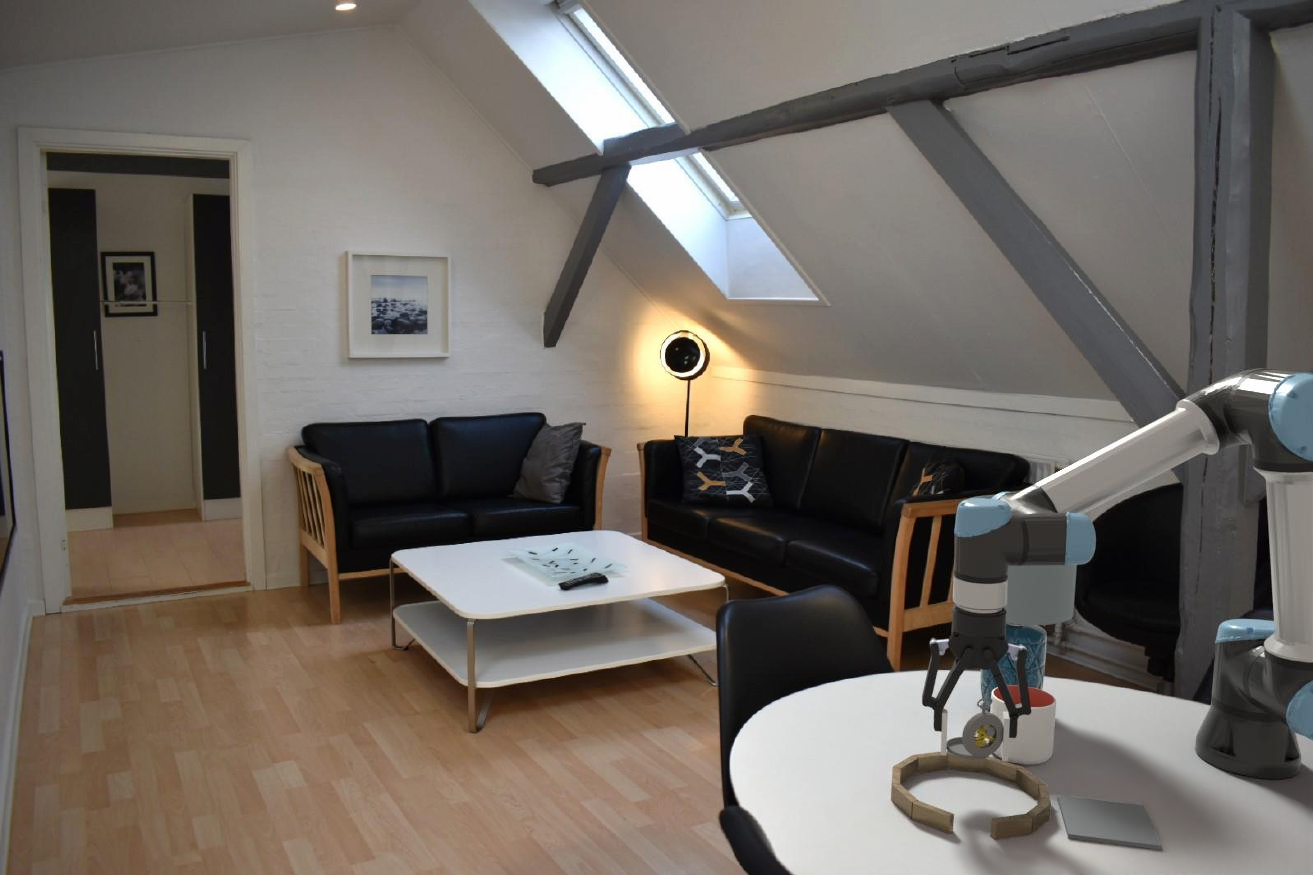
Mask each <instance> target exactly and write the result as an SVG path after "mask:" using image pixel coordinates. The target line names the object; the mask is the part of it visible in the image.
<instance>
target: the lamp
mask: <svg viewBox="0 0 1313 875" xmlns="http://www.w3.org/2000/svg"><path fill="white" fill-rule="evenodd" d="M995 495H996V494H991V495H990V494H988V495H980V496H978V495H977V496H973V497H970V498H969V499H973V498H985V499H991V498H992V497H993V496H995ZM1077 566H1078V565H1069V566H1009V568H1008V586H1007V605H1006V606H1005V607H1004V609H1005V610H1006V634H1005V636H1006V640H1007V642H1008V643H1009V644H1013V645H1017V646H1018V645H1020V644H1023V645H1025V647H1026V650H1027V653H1028V654H1027V659H1026V663H1025V670H1026V677H1027V684H1028V687H1033V688H1037V689H1040V690H1043V687H1044V680H1045V672H1046V661H1047V660H1046V659H1047V658H1046V656H1047V641H1048V640H1047V639H1048V636H1047V631H1046V630H1045V629H1044V628H1043V627H1042V626H1046V625H1048V626H1049V625H1055V624H1056V625H1058V624H1061V623H1065V622H1067V621H1070V620H1071V619H1073V617H1074V610H1075V608H1074V607H1075V593H1076V580H1077ZM998 664H999V666H1000V669H1001V671H1002V674H1003V676H1004V678H1005V681H1006V683H1007V685H1018V680H1017V673H1016V666H1015V661H1014V660H1012V658H1011V654H1010V653H1009V652H1006V654H1005V655H1004V656H1003V657H1002V658H1001V659H1000V660H999V662H998ZM997 687H998V686H997V684H996V682H995V679H994V677H993V675H992V673H991V670H990V669H989V670H982V669H980V693H981V694H980V695H981V699H982V698H991V693H992V691H993V690H994V689H995V688H997ZM983 702H985V703H986V705H988V704H989V703H990V702H991V700H990V699H984V700H982V703H983ZM987 709H989V710H990V709H991V705H989V706H988V707H987Z"/></svg>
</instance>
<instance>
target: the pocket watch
mask: <svg viewBox="0 0 1313 875" xmlns="http://www.w3.org/2000/svg"><path fill="white" fill-rule="evenodd" d="M984 699H990V700H991V702H990V703H989V704H988V705H986V703H985V702H983V700H984ZM981 702H982V703H981ZM992 702H993V700H992V699H991V698H982V697H981V698H980V699H979V700H978V701H977V703H976V706H977V707H979V709H980V710H981V712H978V713H976V714H974V715H973V716H971V717H970V718H969V719H968V721H966V723H965V725H964V727H963V730H962V735H961V736H957V737H952V738H949V739H947V747H946V751H948V752H949V753H951V754H953V755H954V756H957V757H960V758H964V759H974V760H976V759H983V758H987V757H988V756H990V757H991V755H993V754H994V752H995V751H996V750H997V749H998V748H999V747H1000V745H1001V743H1002V741H1003V729H1004V727H1003V724H1002V722H1001V720H1000V719H999V718H998V717H997V716H996V715H994V714H993V713H990V711H987V710H986V709H988V708H987V707H988V706H989V705H991V704H992ZM980 703H981V704H980ZM990 737H991V738H990ZM986 739H987V740H986Z"/></svg>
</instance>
